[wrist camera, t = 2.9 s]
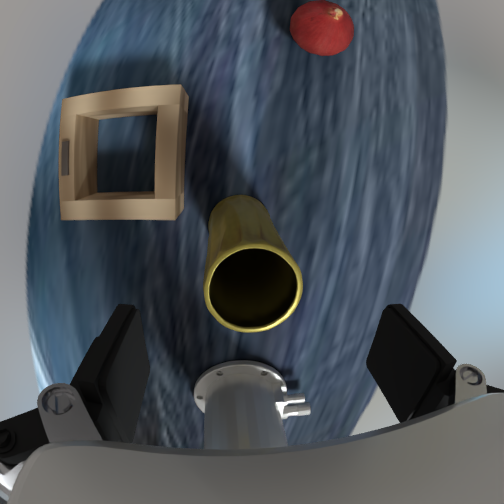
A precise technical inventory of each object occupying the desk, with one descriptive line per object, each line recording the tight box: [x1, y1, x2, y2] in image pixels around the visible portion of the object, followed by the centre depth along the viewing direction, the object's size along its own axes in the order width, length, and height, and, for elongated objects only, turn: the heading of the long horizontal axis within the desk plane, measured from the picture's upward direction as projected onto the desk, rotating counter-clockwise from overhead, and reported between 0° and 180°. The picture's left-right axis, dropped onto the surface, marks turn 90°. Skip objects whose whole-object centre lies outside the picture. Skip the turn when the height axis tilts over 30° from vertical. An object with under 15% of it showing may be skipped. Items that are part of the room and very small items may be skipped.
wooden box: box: [59, 85, 189, 220], centre depth 22 cm, size 11×11×5 cm
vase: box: [203, 195, 303, 332], centre depth 21 cm, size 6×6×14 cm
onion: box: [290, 0, 354, 56], centre depth 18 cm, size 6×6×8 cm
